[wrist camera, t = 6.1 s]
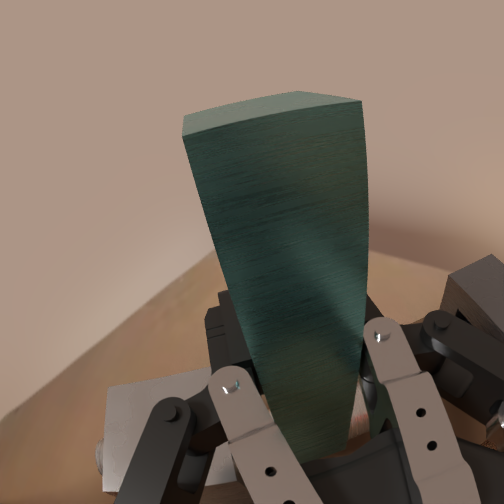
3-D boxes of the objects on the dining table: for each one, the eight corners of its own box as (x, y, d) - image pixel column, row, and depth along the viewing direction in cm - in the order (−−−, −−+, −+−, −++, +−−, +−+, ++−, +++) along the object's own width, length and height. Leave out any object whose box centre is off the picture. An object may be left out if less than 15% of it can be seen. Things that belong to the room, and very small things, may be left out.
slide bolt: (123, 491, 12) (-107, 286, 4) (122, 447, 15) (-61, 234, 6) (437, 404, 14) (526, 100, 5) (413, 367, 16) (453, 83, 8)
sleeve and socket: (163, 521, 11) (103, 501, 8) (155, 426, 17) (109, 379, 14) (521, 377, 13) (559, 318, 10) (471, 316, 19) (491, 253, 16)
